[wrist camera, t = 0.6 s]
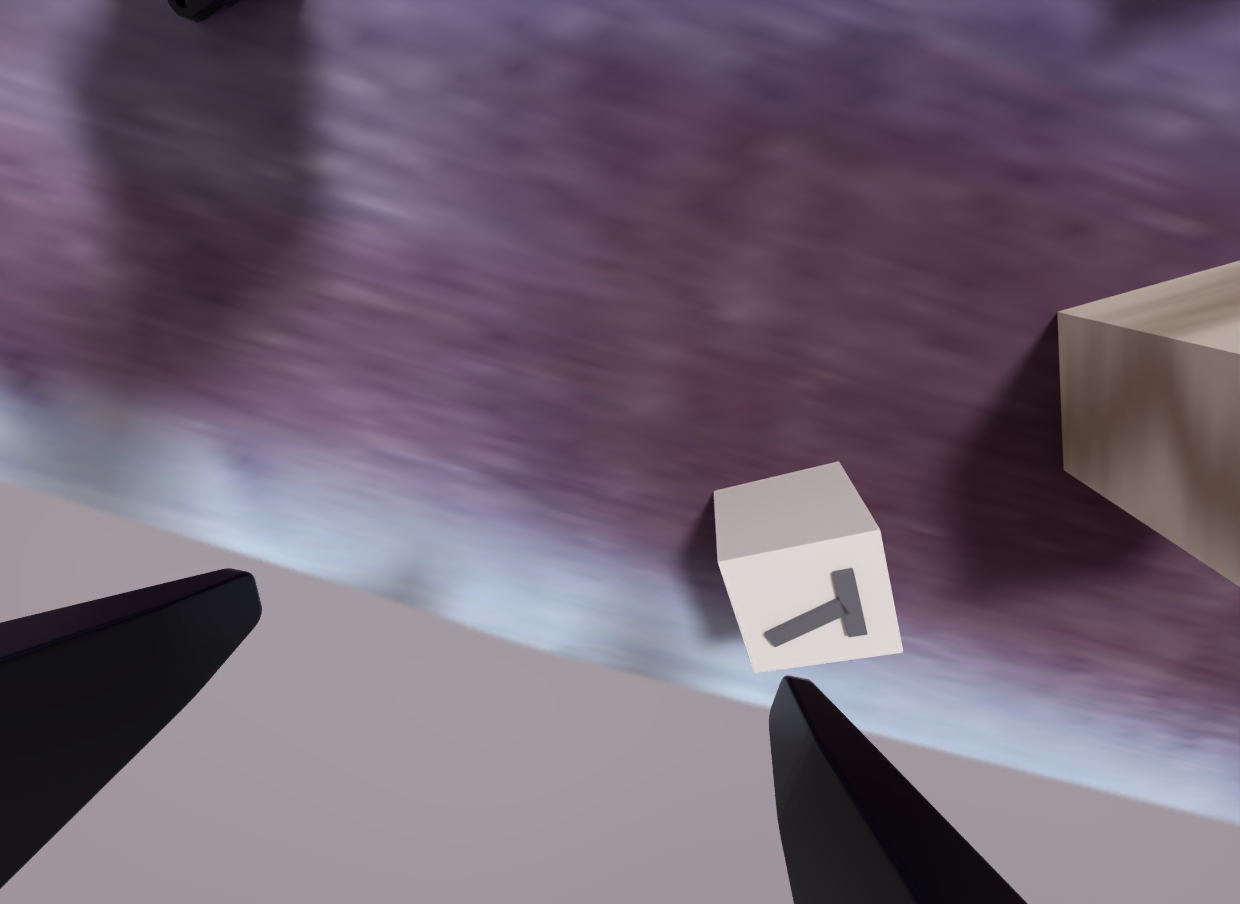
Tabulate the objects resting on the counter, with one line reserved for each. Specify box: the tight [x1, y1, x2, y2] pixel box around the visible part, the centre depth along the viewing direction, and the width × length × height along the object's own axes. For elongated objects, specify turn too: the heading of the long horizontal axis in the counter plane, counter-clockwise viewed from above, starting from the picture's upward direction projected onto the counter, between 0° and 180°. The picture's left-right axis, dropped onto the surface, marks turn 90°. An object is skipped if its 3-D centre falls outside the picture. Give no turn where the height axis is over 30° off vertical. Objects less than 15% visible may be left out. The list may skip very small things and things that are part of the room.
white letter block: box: [714, 461, 903, 673], centre depth 19 cm, size 5×5×5 cm
